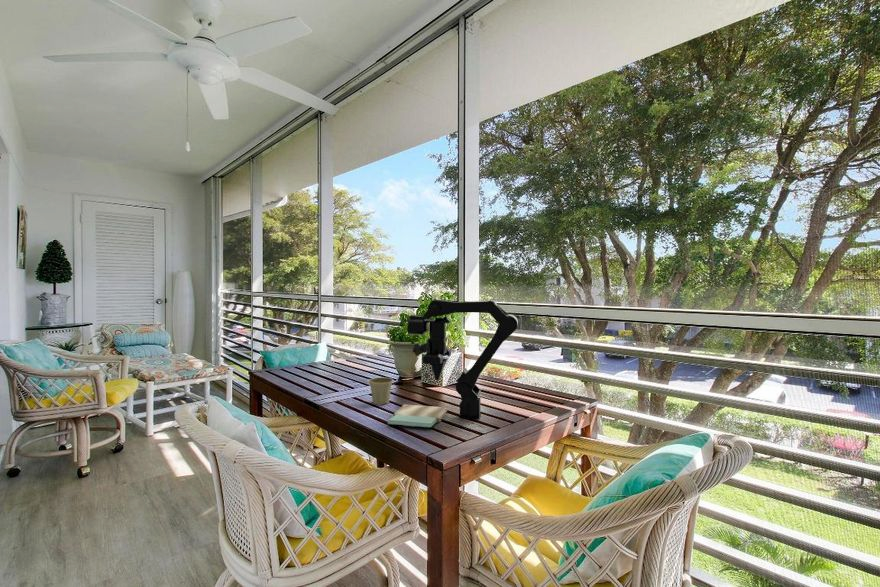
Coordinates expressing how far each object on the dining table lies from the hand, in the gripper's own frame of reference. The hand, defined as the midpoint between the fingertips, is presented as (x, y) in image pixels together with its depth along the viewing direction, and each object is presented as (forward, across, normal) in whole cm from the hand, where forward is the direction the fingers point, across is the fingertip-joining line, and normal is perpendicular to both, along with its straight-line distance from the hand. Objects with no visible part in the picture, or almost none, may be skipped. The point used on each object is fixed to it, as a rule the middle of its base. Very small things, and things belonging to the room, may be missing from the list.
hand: (437, 379), depth 148 cm
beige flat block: (+12, +3, -5) cm, 13 cm away
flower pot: (+12, -8, -24) cm, 28 cm away
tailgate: (+11, +9, -5) cm, 15 cm away
